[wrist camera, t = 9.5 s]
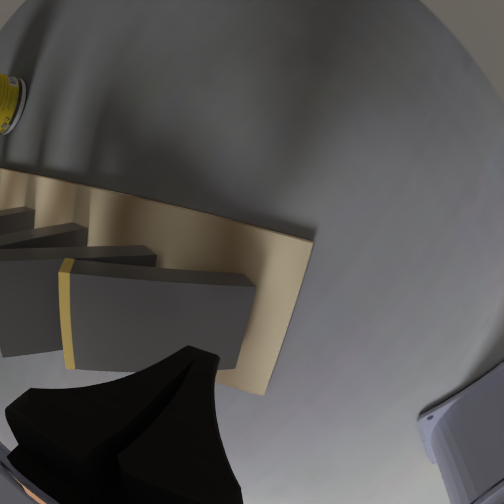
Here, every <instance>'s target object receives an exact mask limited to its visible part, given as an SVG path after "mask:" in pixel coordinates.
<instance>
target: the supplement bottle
mask: <svg viewBox="0 0 504 504" xmlns="http://www.w3.org/2000/svg"><path fill="white" fill-rule="evenodd" d="M25 100H26V85H25V82H24V81H23V80H22V79H20V78H17V77H13V76H9V75H4V74H0V135H5V134H7V133H9V132H10V131H11V130H12V129H13V128H14V127H15V125H16V124H17V122H18V121H19V119H20V117H21V114H22V111H23V108H24V105H25Z"/></svg>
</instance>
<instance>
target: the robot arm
mask: <svg viewBox="0 0 504 504" xmlns="http://www.w3.org/2000/svg"><path fill="white" fill-rule="evenodd" d="M219 361H220V357H219V356H218V355H217V354H214V353H211V352H208V351H205V350H202V349H199V348H196V347H193V346H190V345H187V346H185V347H183V348H182V349H180V350H178V351H177V352H175V353H173V354H172V355H170V356H168V357H167V358H165V359H163V360H161V361H159V362H157V363H155V364H153V365H152V366H150V367H147V368H145V369H143V370H141V371H138V372H136V373H134V374H131V375H129V376H126V377H123V378H120V379H117V380H114V381H110V382H106V383H101V384H96V385H92V386H86V387H78V388H67V389H39V388H30V389H29V390H27V391H26V392H25V393H23V394H22V395H21V396H20V397H18V398H17V399H16V400H15V401H14V402H12V403H11V404H10V405H9V406H7V407H6V409H5V416H6V419H7V422H8V424H9V426H10V428H11V430H12V432H13V434H14V436H15V438H16V440H17V442H18V444H19V445H18V446H17V447H16V448H15V449H14V450H13V451H12V452H11V451H10V450H8V449H7V448H6V447H5V446H4V445H3V444H2V443H1V442H0V504H39V503H38V502H37V501H36V500H34V499H33V498H32V497H30V496H29V495H28V494H27V493H26V492H25V490H24V488H23V487H22V485H24V486H25V487H26V488H27V489H28V490H30V491H31V492H32V493H34V494H35V495H36V496H37V497H39V498H40V499H41V500H43V501H44V502H46V503H47V504H243V499H242V493H241V487H240V485H239V483H238V481H237V479H236V477H235V475H234V473H233V471H232V469H231V466H230V464H229V461H228V459H227V456H226V453H225V450H224V447H223V444H222V440H221V437H220V433H219V428H218V423H217V418H216V410H215V398H214V383H215V378H216V374H217V370H218V366H219ZM417 422H418V425H419V428H420V431H421V434H422V436H423V439H424V442H425V445H426V448H427V452H428V455H429V458H430V461H431V463H432V464H435V463H437V464H438V467H439V470H440V472H441V475H442V478H443V481H444V485H445V488H446V491H447V494H448V497H449V501H450V504H504V361H503V362H502V363H501V364H500V365H498V366H497V367H496V368H494V369H493V370H492V371H490V372H489V373H488V374H486V375H485V376H483V377H482V378H481V379H479V380H478V381H476V382H475V383H473V384H472V385H470V386H469V387H467V388H466V389H464V390H463V391H461V392H460V393H458V394H456V395H455V396H453V397H452V398H450V399H448V400H447V401H445V402H443V403H441V404H440V405H438V406H436V407H434V408H433V409H431V410H429V411H427V412H425V413H423V414H422V415H420V416H419V417H418V419H417ZM15 478H16V479H17V480H18V481H19V482H20V483H21V484H22V485H21V484H20V483H19V482H18V481H17V480H16V479H15Z"/></svg>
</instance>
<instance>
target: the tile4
mask: <svg viewBox="0 0 504 504" xmlns="http://www.w3.org/2000/svg"><path fill="white" fill-rule="evenodd" d="M34 222H35V210H34V209H31V208H28V207H25V206H23V207H17V208H10V209H4V210H0V235H4V234H9V233H14V232H19V231H24V230H30V229H34Z"/></svg>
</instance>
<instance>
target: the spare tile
mask: <svg viewBox="0 0 504 504" xmlns="http://www.w3.org/2000/svg"><path fill="white" fill-rule="evenodd" d="M58 276H59V307H60V322H61V333H62V343H63V351H64V359H65V366H66V369H81V370H95V371H115V372H138V371H141V370H143V369H145V368H147V367H150V366H152V365H153V364H155V363H157V362H159V361H161V360H163V359H165V358H167V357H168V356H170V355H172V354H173V353H175V352H177V351H178V350H180V349H182V348H183V347H185V346H187V345H190V346H193V347H196V348H199V349H202V350H205V351H208V352H211V353H214V354H217V355H218V356H219V357H220V361H219V366H218V370H228V369H235V368H236V365H237V361H238V357H239V354H240V350H241V346H242V342H243V339H244V335H245V331H246V327H247V323H248V320H249V316H250V312H251V308H252V304H253V301H254V297H255V293H256V289H257V287H256V286H255V285H254V284H253V283H252V282H251V281H250V280H249V279H248V278H247V277H246V276H245V275H244V274H235V273H221V272H207V271H194V270H182V269H170V268H158V267H147V266H135V265H125V264H114V263H104V262H94V261H84V260H75V259H70V258H65V259H64V261H63V263H62V265H61V267H60V270H59V272H58Z"/></svg>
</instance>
